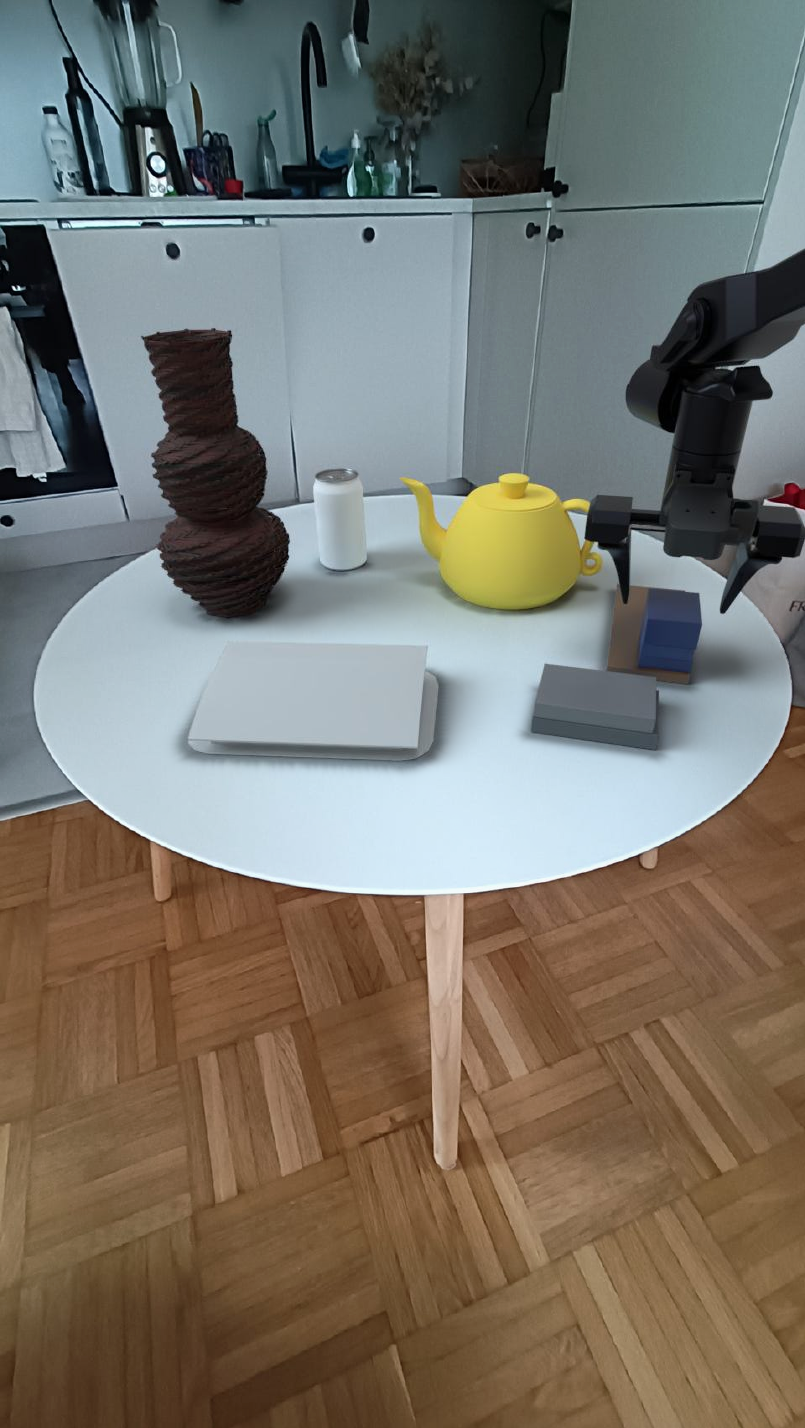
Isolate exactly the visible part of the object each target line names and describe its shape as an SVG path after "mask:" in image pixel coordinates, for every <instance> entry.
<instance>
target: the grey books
mask: <svg viewBox="0 0 805 1428" xmlns="http://www.w3.org/2000/svg"><path fill="white" fill-rule="evenodd" d="M659 712H660V690H659V689H657V680H656V677H650V676H642V675H634V674H626V673H618V672H609V671H606V670H600V669H593V668H592V669H591V668H584V667H576V666H568V665H561V664H560V665H559V664H553V663H552V664H551V663H544V665H543V669H542V673H541V677H540V681H539V685H538V688H537V692H536V696H535V700H534V707H533V712H532V717H531V725H530V732H531V733H535V734H544V735H551V736H556V737H564V738H569V739H570V738H571V739H578V740H584V741H585V740H586V741H591V742H598V743H605V744H611V745H617V746H618V745H619V746H624V747H631V748H632V747H633V748H638V749H647V750H654V751H656V750H657V745H658V741H659V733H660V731H659V727H660V726H659V725H660V724H659V723H660V713H659Z"/></svg>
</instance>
